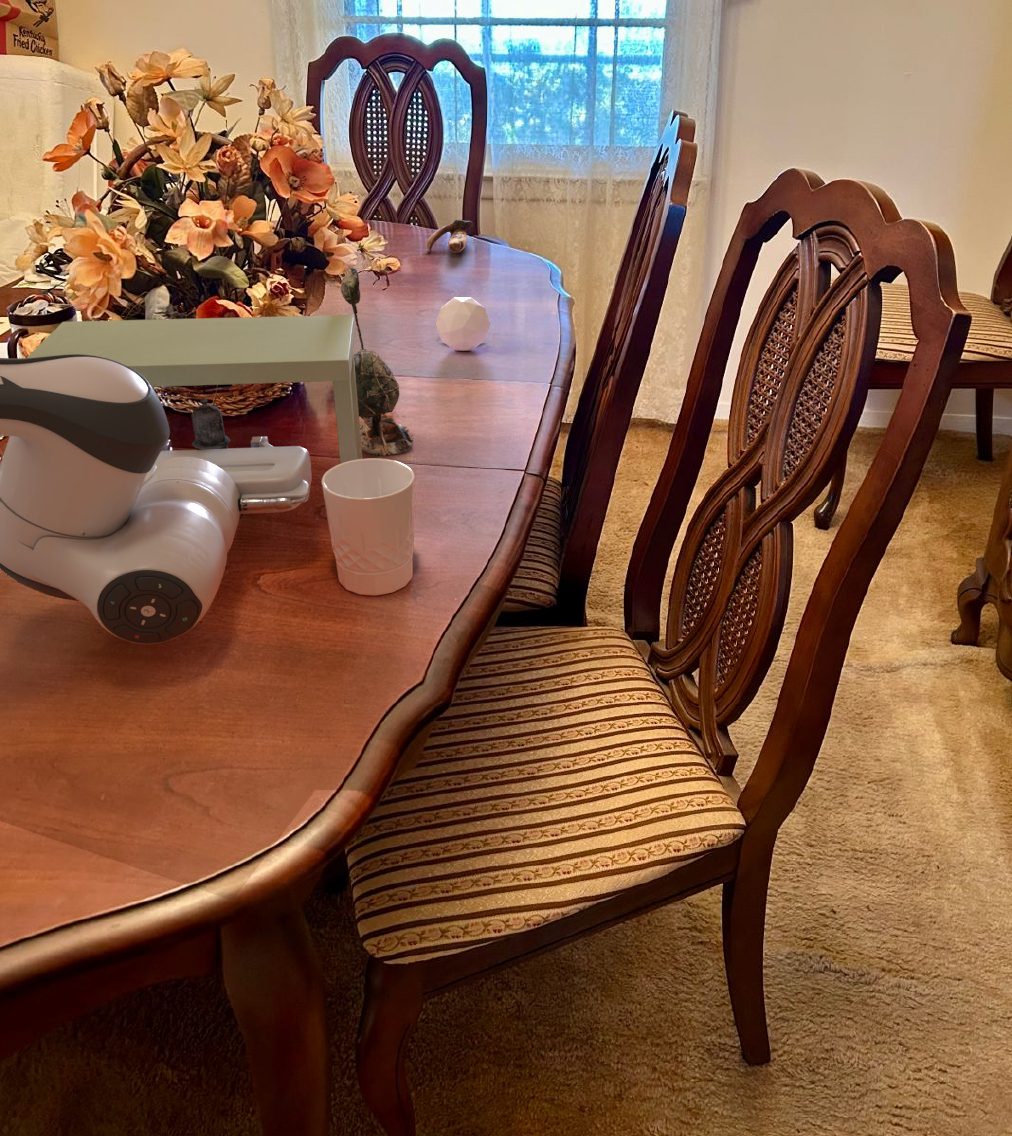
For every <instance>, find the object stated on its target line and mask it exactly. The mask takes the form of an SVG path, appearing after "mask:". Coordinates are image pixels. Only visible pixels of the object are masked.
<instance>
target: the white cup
mask: <svg viewBox="0 0 1012 1136" xmlns="http://www.w3.org/2000/svg"><path fill="white" fill-rule="evenodd" d="M415 477H416V476H415V473H414V471H413V469H412V468H410V467H409V466H408V465H406V464H404V463H402V462H400V461H397V460H393V459H387V458H374V457H373V458H372V457H370V458H369V457H367V458H362V459H358V460H352V461H348V462H344V463H341V464H340V463H339V464H337V465H334V466H333V467H331V468H329V469H328V470H327V471H325V473H324V474H323V475H322V478H321V487H322V494H323V499H324V507H325V512H326V519H327V520H326V521H327V527H328V531H329V536H330V542H331V548H332V552H333V554H334V558H335V564H336V570H337V578H338V582H339V583H340V584H341V586H342V587H344V588H345V590H347V591H349V592H352V593H355V594H357V595H361V596H382V595H386V594H392V593H395V592H397V591H398V590H401V589H402V588H404V587H406V586H407V585H408V584H409V582H410V581H411V580H412V579H413V577H414V573H413V572H414V571H413V570H414V568H413V566H414V565H413V564H414V563H413V556H414V555H413V554H414V553H413V552H414V549H415V486H416V485H415V482H416V481H415V480H416V479H415Z"/></svg>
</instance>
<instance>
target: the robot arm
mask: <svg viewBox="0 0 1012 1136" xmlns="http://www.w3.org/2000/svg"><path fill="white" fill-rule="evenodd" d="M170 435H171V429H170V425H169V421H168V418H167V415H166V412H165V409H164V407H163V405H162V403H161V400H160V397H159V396H158V394H157V393H156V391H155V390H154V387H151V385H150V384H149V382H148V381H147V380H146V379H145V378H144V377H143V376H142V375H141V374H139V373H138V372H137V371H135V370H133V369H132V368H130V367H128V366H126V365H124V364H121V363H119V362H116V361H113V360H110V359H107V358H103V357H98V356H92V355H82V354H70V355H57V356H46V357H36V358H27V357H22V358H20V357H19V358H18V357H16V358H15V357H14V358H13V357H11V358H9V357H0V437H8V440H7V443H6V447H5V450H4V452H3V456H2V459H1V461H0V570H1V571H3V573H5V574H6V575H7V576H9V577H10V578H11V579H13V580H14V581H16V582H17V583H19V584H20V585H23V586H25V587H27V588H29V589H31V590H34V591H36V592H39V593H41V594H44V595H46V596H51V597H54V598H58V599H63V600H68V601H74V602H80V603H81V604H82V605H84V606H85V608H87V609H88V611H89V612H90V613H91V614H92V615H93V617H94V619H95V620H96V622H97V623H98V624H99V625H100V626H101V627H102V628H103V629H104V630H105V631H107V632H108V634H109V633H110V634H111V635H113V636H114V637H116V638H118V639H119V640H124V641H126V642H129V643H132V644H137V645H138V644H139V645H157V644H163V643H165V642H169V641H171V640H174V639H177V638H179V637H180V636H182V635H183V636H184V635H185V634H186V633H188V632H189V631H190V630H192V629H193V628H194V627H195V626H196V625H197V624H199V622H200V621H201V620H202V619H203V618H204V616H205V615H206V614H207V612H208V611H209V609H210V607H211V606H212V603H213V602H214V600H215V599H216V598H215V597H216V595H217V593H218V592H219V591H218V590H219V588H220V587H221V586H220V585H221V583H222V579H223V577H224V574H225V570H226V566H227V561H228V553H229V552H230V550H231V547H232V545H233V542H234V539H235V535H236V532H237V528H238V526H239V523H240V518H241V515H250V514H252V515H253V514H270V513H271V514H272V513H275V514H276V513H284V512H289V511H293V510H295V509H297V508H298V507H299V506H300V505H301V504H302V503H306V502H307V501H308V500H309V498H310V495H311V484H312V479H313V473H312V461H311V456H310V452H309V450H307V449H306V448H304V447H302V446H301V445H289V446H273V445H271V444H270V443H269V438H268V436H267V435H266V436H265V435H264V436H252V437H251V440H250V447H235V448H233V447H232V448H228V449H204V450H197V449H181V450H180V449H178V450H174V448H173V447H172V446H173V443H172V440H171V439H169V437H170Z"/></svg>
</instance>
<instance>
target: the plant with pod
mask: <svg viewBox="0 0 1012 1136" xmlns="http://www.w3.org/2000/svg"><path fill="white" fill-rule="evenodd" d="M340 292H341V295H342V297H343V298H344V300H345V302H347V304H348V305H351V307H352V311H353V315H354V322H355V325H356V327H357V332H358V338H359V342H360V348H361V349H359V351H358V352H355V353H354V362H355V375H356V387H357V399H358V411H359V418H361V423H360V435H361V447H362V453H365V454H367V455H371V456H378V457H380V456H381V457H385V456H386V455H389V457H390V456H392V455H395V454H396V455H399V454H403V452H405V453H406V452H407V451H409V450H411V449H412V448H413V446H414V444H413V440H414V438H413V436H414V434H411V433H409V429H407V426H406V425H403V424H402V423H398V422H397V421H396V419H395V418H394V416H393V415H392V414H391V413H392V412H393V411H394V410H395V407H396V406H397V404H398V401H399V398H400V384H399V382H398V380H397V378H396V377H395V375H394V373H393V371H392V369H391V368H390V367H389V366H388V363H386V361H384V360H383V358H382V357H381V356H380V355H379V353H377V352H376V351H375V350H370V351H369V350H368V349H365V347H364V342H363V337H362V332H361V328H360V324H359V319H358V307H357V304H359V302H360V301H361V290H360V278H359V274H358V270H357V269H356V268H355V267H348V268H347V271H346V272H345V274H344V276H343V278H342V281H341V283H340Z"/></svg>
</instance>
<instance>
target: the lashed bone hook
mask: <svg viewBox="0 0 1012 1136" xmlns="http://www.w3.org/2000/svg"><path fill="white" fill-rule="evenodd" d="M473 226H474V222H472V221H471V220H463V219H455V220H454V221H452V222H451V223H447V224H446V225H443V226H442V227H440V228H438V229H437V230H435V231H434V232H433V233H432V234H431V235H430V236H429V238H428V239H427V242H426V251H427V253H428V254H429V253H431V252H432V249H433V247H434V245H435V243H436V242H437V241H438V240H439V239H440V238H441V237H442V236H444V235H445V234H447V233H449V234H450V236H449V239H448V242H447V247H448V249H449V251H450V252H451V253H454V254H459V253H461V252H462V251H463V250H464V249H465V248H466V246H467V244H468V235H469V232H470V228H473Z"/></svg>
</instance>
